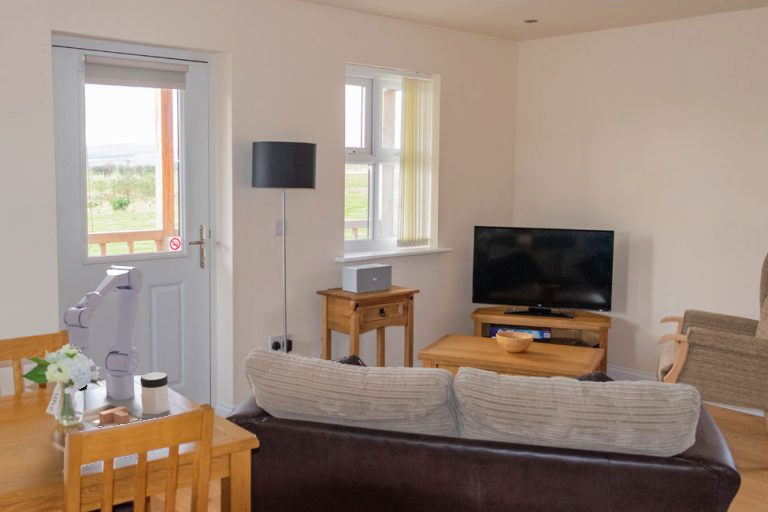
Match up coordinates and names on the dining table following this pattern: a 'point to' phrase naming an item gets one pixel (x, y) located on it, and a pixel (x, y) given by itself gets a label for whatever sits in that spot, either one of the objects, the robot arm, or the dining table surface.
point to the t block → (115, 415)
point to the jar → (154, 393)
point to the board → (93, 414)
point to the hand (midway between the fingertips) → (82, 390)
